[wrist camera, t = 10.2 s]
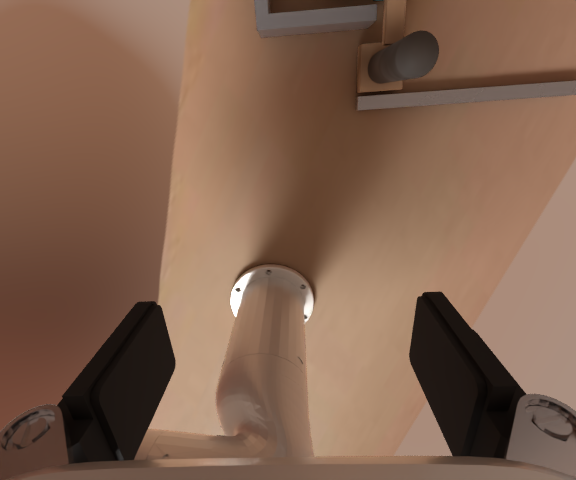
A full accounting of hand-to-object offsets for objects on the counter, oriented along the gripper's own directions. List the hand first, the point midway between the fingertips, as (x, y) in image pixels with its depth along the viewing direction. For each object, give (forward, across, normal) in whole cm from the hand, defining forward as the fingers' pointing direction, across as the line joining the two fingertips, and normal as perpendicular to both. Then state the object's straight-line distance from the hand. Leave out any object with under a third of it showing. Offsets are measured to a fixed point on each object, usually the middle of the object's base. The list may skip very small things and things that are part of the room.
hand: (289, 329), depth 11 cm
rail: (+30, -20, -8) cm, 36 cm away
